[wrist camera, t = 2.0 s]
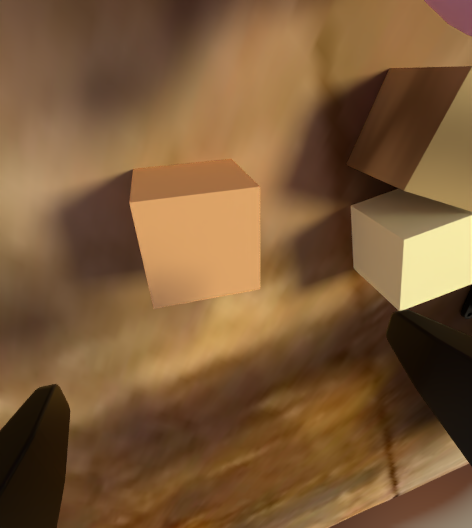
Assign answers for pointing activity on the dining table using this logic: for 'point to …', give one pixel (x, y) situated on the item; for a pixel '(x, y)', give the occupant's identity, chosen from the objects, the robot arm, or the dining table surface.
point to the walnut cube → (421, 134)
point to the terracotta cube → (197, 230)
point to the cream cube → (411, 247)
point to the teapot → (454, 13)
